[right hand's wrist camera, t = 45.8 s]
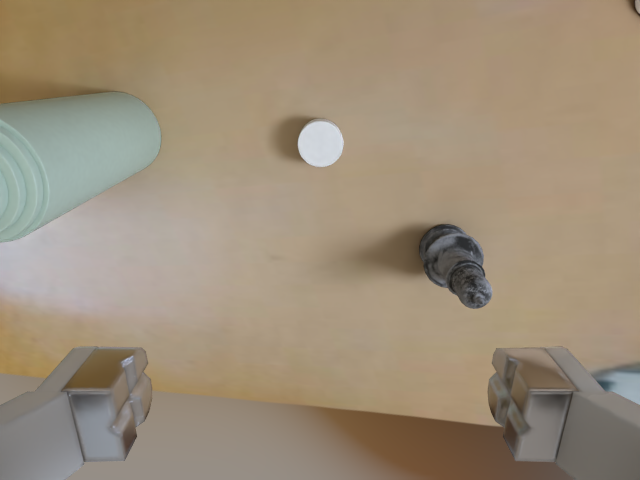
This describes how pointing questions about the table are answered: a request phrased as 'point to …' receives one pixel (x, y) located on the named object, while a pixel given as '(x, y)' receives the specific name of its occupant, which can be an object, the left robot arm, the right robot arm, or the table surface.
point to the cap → (320, 142)
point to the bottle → (68, 154)
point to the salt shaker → (456, 264)
